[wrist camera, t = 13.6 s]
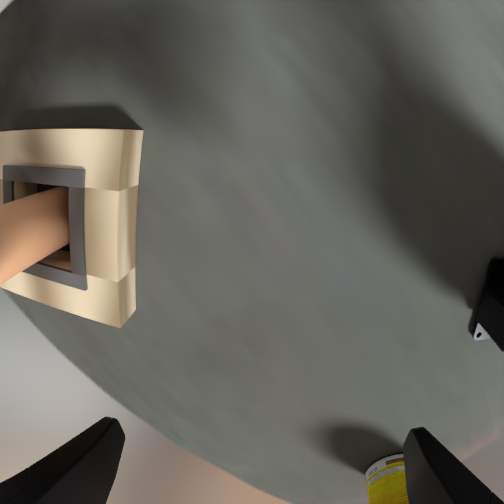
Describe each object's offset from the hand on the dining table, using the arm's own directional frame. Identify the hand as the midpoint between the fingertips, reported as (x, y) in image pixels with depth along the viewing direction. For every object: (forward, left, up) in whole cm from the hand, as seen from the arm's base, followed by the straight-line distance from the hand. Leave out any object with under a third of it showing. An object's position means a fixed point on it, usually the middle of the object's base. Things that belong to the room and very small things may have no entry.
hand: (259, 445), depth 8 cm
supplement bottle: (-12, +22, -12) cm, 28 cm away
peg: (+14, -5, -12) cm, 19 cm away
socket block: (+14, -5, -12) cm, 19 cm away
